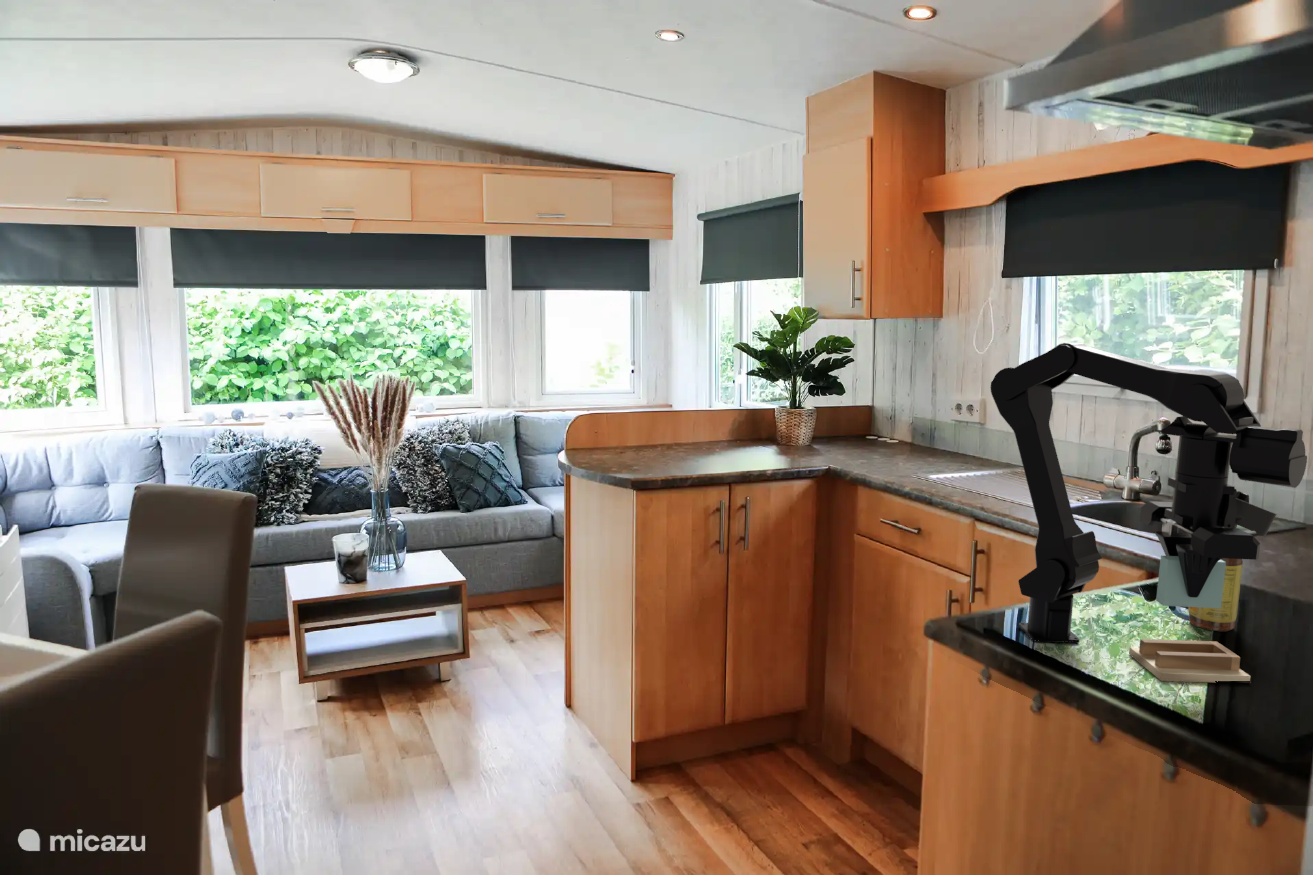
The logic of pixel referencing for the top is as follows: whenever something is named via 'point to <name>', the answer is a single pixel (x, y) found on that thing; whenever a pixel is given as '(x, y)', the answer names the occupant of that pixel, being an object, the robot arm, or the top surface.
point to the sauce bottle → (1227, 613)
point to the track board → (1189, 660)
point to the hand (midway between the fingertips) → (1188, 594)
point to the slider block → (1175, 591)
